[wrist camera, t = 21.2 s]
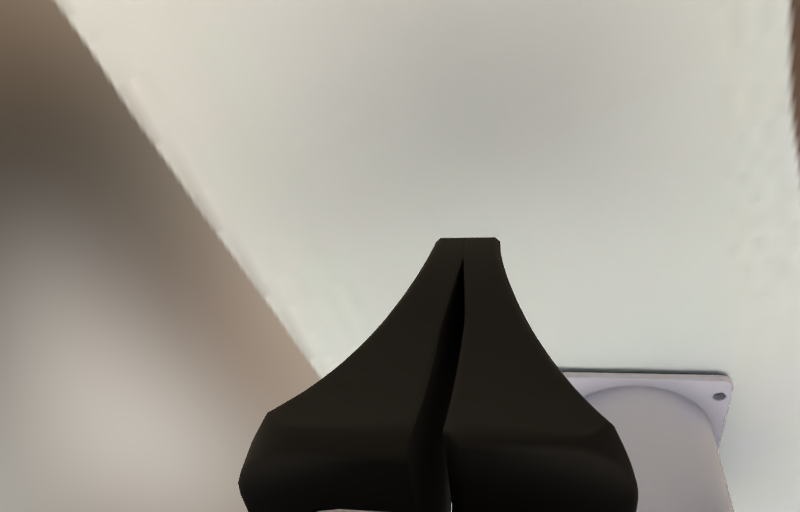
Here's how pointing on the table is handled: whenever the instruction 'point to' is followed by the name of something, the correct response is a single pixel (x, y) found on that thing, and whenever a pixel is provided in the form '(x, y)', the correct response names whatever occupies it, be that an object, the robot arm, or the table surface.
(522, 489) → the robot arm
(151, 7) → the table surface
